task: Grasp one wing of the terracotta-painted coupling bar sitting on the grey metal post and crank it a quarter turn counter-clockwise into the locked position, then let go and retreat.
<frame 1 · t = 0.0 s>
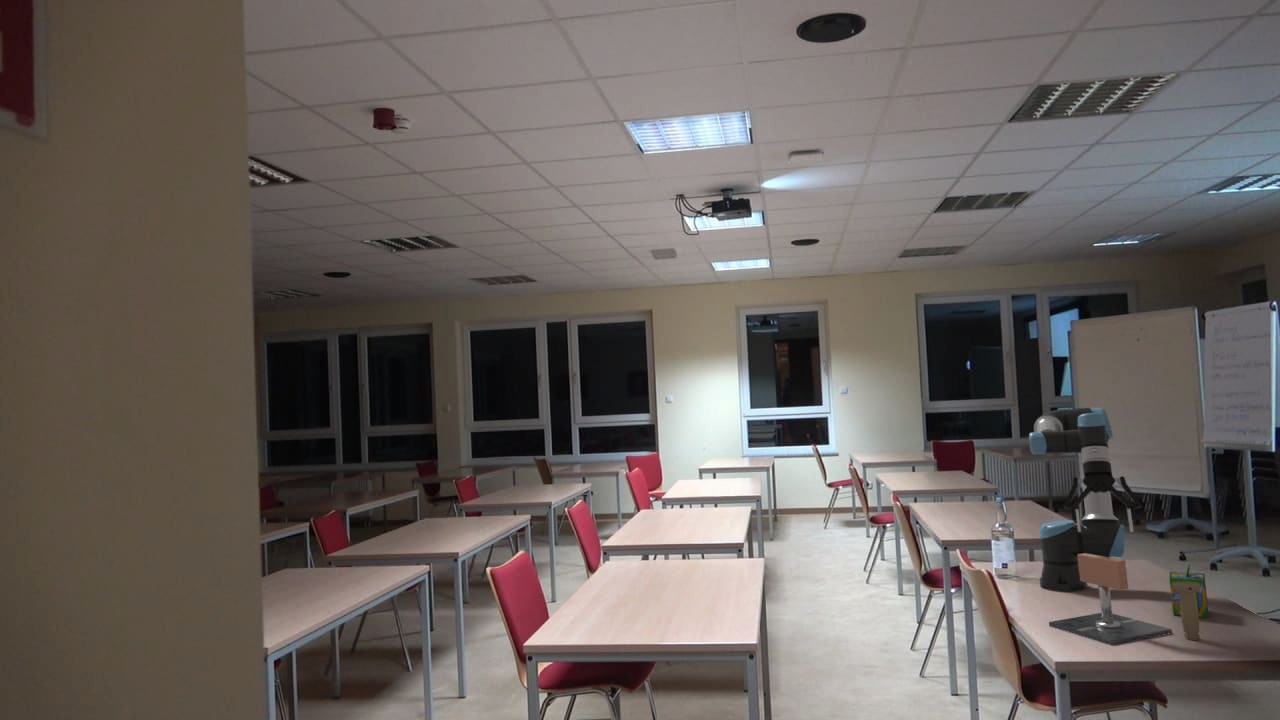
hand: (1105, 531, 233), 28 cm above the table, tool tilted 20°, fingers open, 13 cm apart
post stand: (1108, 629, 228), on the table
coupling: (1101, 569, 229), point 17 cm above the table, hinge at 0.0°
chalk box: (1190, 614, 238), on the table
handle: (1192, 639, 214), on the table
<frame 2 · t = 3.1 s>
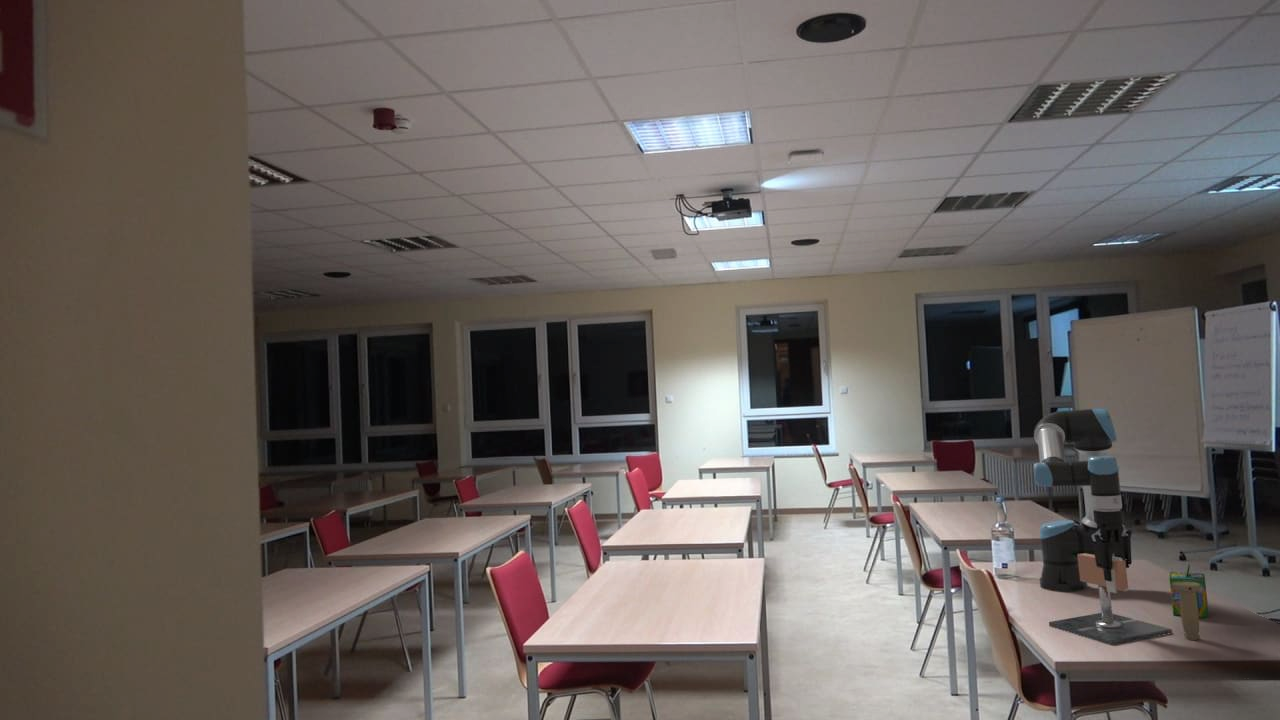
hand: (1117, 591, 224), 12 cm above the table, tool pointing down, fingers closed on coupling, 3 cm apart
coupling: (1101, 569, 229), point 17 cm above the table, hinge at 0.0°, touching gripper
everything else where it was.
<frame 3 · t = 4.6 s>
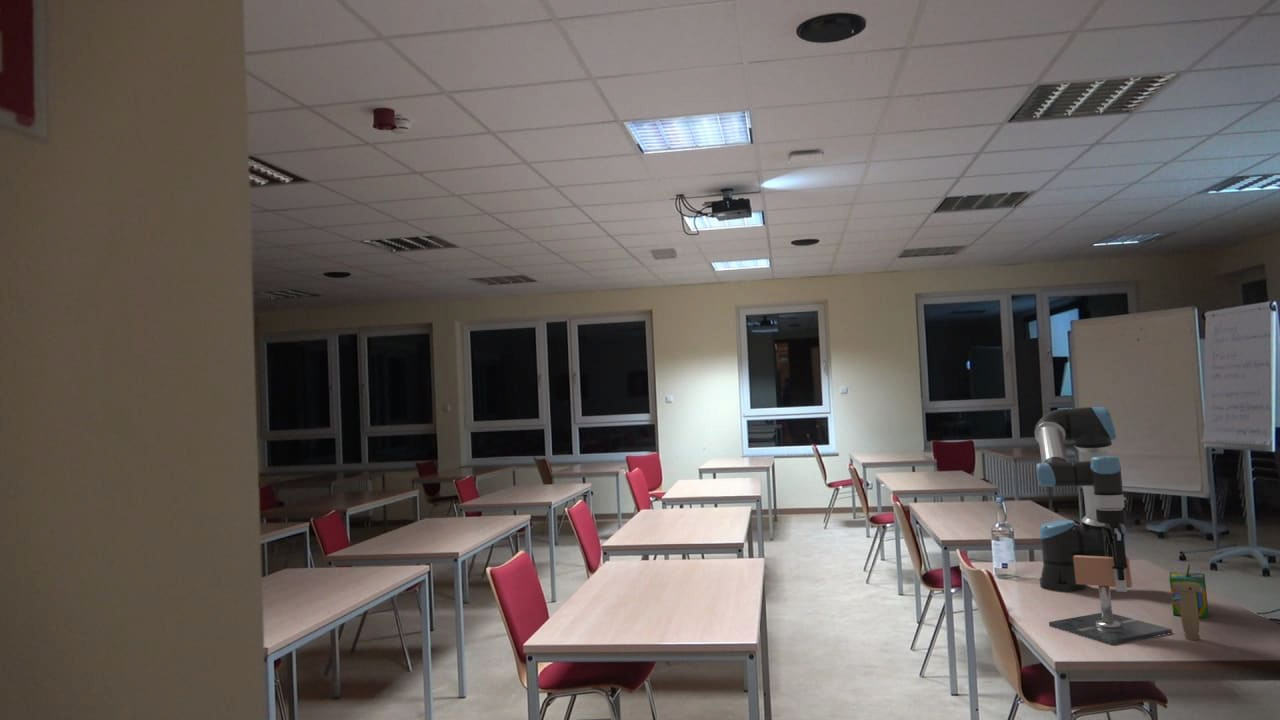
hand: (1118, 588, 227), 12 cm above the table, tool pointing down, fingers open, 5 cm apart
coupling: (1101, 569, 229), point 17 cm above the table, hinge at 35.6°, touching gripper
everything else where it was.
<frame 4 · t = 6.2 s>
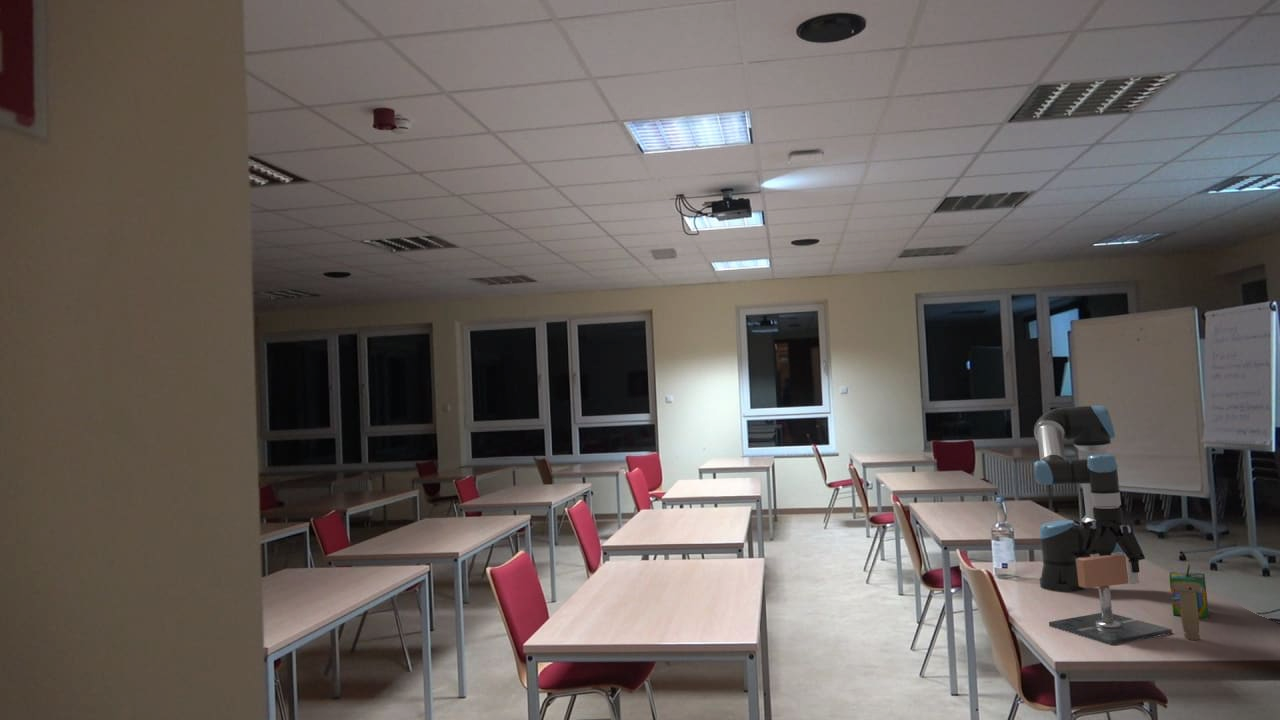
hand: (1115, 579, 230), 14 cm above the table, tool pointing down, fingers open, 12 cm apart
coupling: (1101, 569, 229), point 17 cm above the table, hinge at 82.3°
everything else where it was.
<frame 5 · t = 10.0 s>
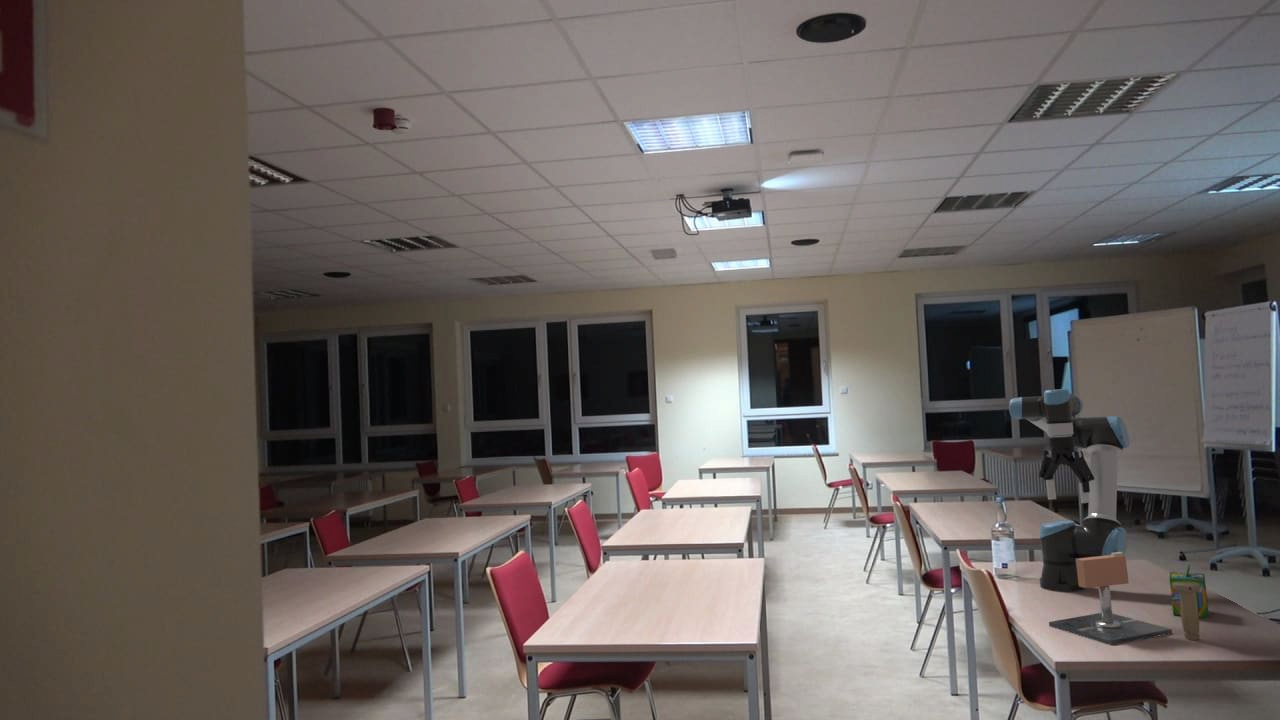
hand: (1068, 501, 253), 35 cm above the table, tool pointing down, fingers open, 13 cm apart
nothing on the table moved.
at the end: coupling at +82° (first picture: +0°); the gripper is holding nothing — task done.
